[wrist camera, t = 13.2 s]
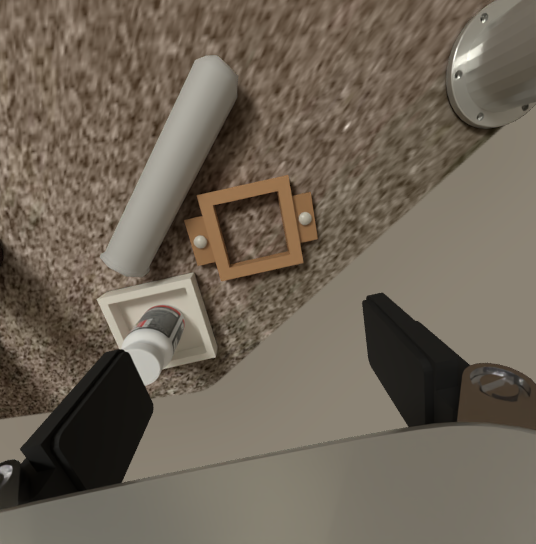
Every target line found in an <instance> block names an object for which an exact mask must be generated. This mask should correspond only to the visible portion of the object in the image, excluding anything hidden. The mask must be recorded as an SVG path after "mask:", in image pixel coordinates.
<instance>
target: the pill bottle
mask: <svg viewBox="0 0 536 544" xmlns="http://www.w3.org/2000/svg"><path fill="white" fill-rule="evenodd" d="M184 328H185V321H184V317H183V315H182V314H181V313H180V311H179V310H177V309H176V308H174V307H172V306H170V305H163V304H161V305H156V306H153V307H151V308H150V309H148V310H147V311H146V312H145V313H144V315H143V316H142V317H141V319H140V320H139V321H138V322H137V324H136V325H135V326H134V328H133V329H132V330H131V331H130V333H129V334H128V335H127V337H126V338H125V340H124V341H123V343H122V347H121V349H123V350H124V351H125V352H128V353H129V354H130V355H131V358H132V360H133V362H134V364H135V366H136V368H137V370H138V373H139V375H140V377H141V379H142V381H143V383H144V385H145V386H146V385H149V384H151V383H153V382H154V381H155V380H156V379H157V378H158V377H159V375H160V373H161V371H162V369H163V368H165V367H166V366H167V365H168V364H169V362H170V361H171V359H172V357H173V355H174V352H175V350H176V347H177V345H178V343H179V340H180V338H181V336H182V333H183V331H184Z"/></svg>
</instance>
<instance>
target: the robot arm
mask: <svg viewBox="0 0 536 544" xmlns="http://www.w3.org/2000/svg"><path fill="white" fill-rule="evenodd" d="M446 86H447V94H448V97H449V101H450V104H451V106H452V108H453V109H454V111H455V113H456V114H457V115H458V116H459V117H460V119H461V120H463V121H464V122H466V123H467V124H469V125H471V126H474V127H477V128H484V129H488V128H496V127H499V126H503V125H507V124H509V123H511V122H514V121H516V120H517V119H519V118H520V117H522V116H524V115H525V114H526V113H527V112H528V111H529V110H531V108H533V107H534V106H535V104H536V0H496V1H494V2H492V3H490V4H489V5H487V6H486V7H485V8H483V9H482V10H481V11H479V12H478V13H477V14H476V15H475V16H474V17H473V18H472V19H471V20H470V21H469V22H468V23H467V24H466V26H465V27H464V28H463V30H462V31H461V33H460V34H459V36H458V38H457V40H456V42H455V44H454V45H453V48H452V51H451V54H450V57H449V61H448V66H447V73H446ZM362 305H363V315H364V324H365V333H366V342H367V351H368V359H369V362H370V365H371V367H372V369H373V371H374V372H375V374H376V375H377V377H378V379H379V380H380V382H381V383H382V385H383V387H384V388H385V390H386V392H387V393H388V395H389V396H390V398H391V400H392V401H393V403H394V404H395V406H396V408H397V409H398V411H399V412H400V414H401V416H402V417H403V419H404V420H405V422H406V424H407V425H408V427H406V428H400V429H394V430H388V431H383V432H377V433H372V434H366V435H361V436H355V437H349V438H344V439H339V440H334V441H329V442H323V443H318V444H313V445H308V446H303V447H298V448H293V449H287V450H283V451H277V452H272V453H267V454H262V455H257V456H252V457H247V458H242V459H237V460H232V461H227V462H222V463H217V464H212V465H207V466H202V467H197V468H192V469H187V470H182V471H177V472H173V473H167V474H163V475H157V476H153V477H148V478H143V479H138V480H134V481H128V482H124V483H122V480H123V478H124V476H125V474H126V472H127V469H128V467H129V465H130V462H131V460H132V458H133V456H134V454H135V451H136V449H137V447H138V445H139V442H140V440H141V438H142V436H143V434H144V431H145V429H146V427H147V425H148V422H149V420H150V418H151V416H152V413H153V403H152V400H151V398H150V396H149V394H148V392H147V390H146V387H145V385H144V383H143V381H142V379H141V377H140V375H139V373H138V370H137V368H136V366H135V364H134V362H133V360H132V358H131V355H130V354H129V353H128V352H125V351H124V350H123V349H119V350H114V351H109V352H106V353H104V354H103V356H102V357H101V358H100V359H99V360H98V361H97V362H96V363H95V365H94V366H93V367H92V368H91V369H90V370H89V371H88V372H87V374H86V375H85V376H84V377H83V378H82V379H81V380H80V382H79V383H78V384H77V385H76V386H75V387H74V388H73V389H72V391H71V392H70V393H69V394H68V395H67V396H66V397H65V399H64V400H63V401H62V402H61V403H60V404H59V405H58V406H57V408H56V409H55V410H54V411H53V412H52V413H51V414H50V416H49V417H48V418H47V419H46V420H45V421H44V422H43V423H42V425H41V426H40V427H39V428H38V429H37V430H36V431H35V433H34V434H33V435H32V436H31V437H30V438H29V439H28V441H27V442H26V443H25V444H24V445H23V446H22V447H21V448H20V450H21V451H22V453H23V454H24V455H25V457H26V459H25V460H24V461H23V462H22V463H21V464H20V462H19V461H17V460H15V459H14V460H7V461H4V462H1V463H0V544H536V384H535V383H534V382H533V380H532V379H531V378H529V377H528V376H526V375H524V374H523V373H521V372H519V371H517V370H514V369H512V368H510V367H507V366H503V365H499V364H492V363H477V364H473V365H469V364H468V363H467V362H466V361H465V360H463V359H462V358H461V357H460V356H459V355H457V354H456V353H455V352H454V351H453V350H452V349H450V348H449V347H448V346H447V345H446V344H445V343H443V342H442V341H441V340H440V339H439V338H438V337H436V336H435V335H434V334H433V333H432V332H430V331H429V330H428V329H427V328H426V327H425V326H423V325H422V324H421V323H420V322H418V321H415V320H413V319H412V318H411V317H410V316H409V315H408V314H407V313H405V312H404V311H403V310H402V309H401V308H400V307H399V306H397V305H396V304H395V303H394V302H393V301H392V300H391V299H389V298H388V297H387V296H386V295H385V294H384V293H378V294H374V295H369V296H367V298H366V300H364V301H363V302H362Z"/></svg>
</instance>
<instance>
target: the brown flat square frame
mask: <svg viewBox="0 0 536 544" xmlns="http://www.w3.org/2000/svg"><path fill="white" fill-rule="evenodd" d="M275 191H277V196H278V201H279V206H280V211H281V217H282V222H283V227H284V232H285V238H286V243H287V248H288V251H287V252H283V253H278V254H274V255H269V256H265V257H260V258H256V259H251V260H247V261H243V262H238V263H234V264H230V261H229V257H228V253H227V250H226V246H225V242H224V239H223V235H222V231H221V227H220V224H219V220H218V216H217V212H216V209H215V205H217V204H221V203H226V202H230V201H235V200H239V199H244V198H248V197H253V196H257V195H262V194H266V193H271V192H275ZM197 198H198V202H199V205H200V209H201V212H202V216H198V217H194V218H189V219H185V220H184V222H185V226H186V229H187V232H188V235H189V238H190V242H191V245H192V248H193V251H194V255H195V258H196V261H197V264H198V266H200V265H204V264H208V263H213V262H216V265H217V268H218V272H219V275H220V279H221V281H225V280H229V279H234V278H238V277H243V276H247V275H252V274H256V273H260V272H265V271H269V270H274V269H278V268H283V267H287V266H292V265H296V264H301V263H303V257H302V252H301V246H300V243H302V242H307V241H311V240H316V239H318V238H317V231H316V224H315V218H314V211H313V205H312V198H311V192H307V193H302V194H298V195H293V196H292V194H291V189H290V183H289V177H288V175H286V176H282V177H277V178H273V179H268V180H264V181H259V182H255V183H250V184H246V185H241V186H237V187H232V188H227V189H223V190H218V191H214V192H209V193H205V194H200V195H197Z"/></svg>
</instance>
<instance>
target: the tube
mask: <svg viewBox="0 0 536 544" xmlns="http://www.w3.org/2000/svg"><path fill="white" fill-rule="evenodd" d="M237 84H238V75H237V74H236V73H235V72H234V71H233V70H232V69H231V68H230V67H229V66H228V65H227V64H226V63H225V62H224V61H223V60H222V59H221V58H219V57H218V56H204V57H202V58H199V59H197V60H195V62H194V64H193V66H192V69H191V71H190V73H189V75H188V77H187V79H186V81H185V83H184V86H183V88H182V90H181V92H180V94H179V96H178V98H177V100H176V103H175V105H174V107H173V109H172V111H171V113H170V115H169V117H168V120H167V122H166V124H165V126H164V128H163V130H162V132H161V134H160V136H159V139H158V141H157V143H156V145H155V147H154V149H153V151H152V153H151V156H150V158H149V160H148V162H147V164H146V166H145V168H144V170H143V173H142V175H141V177H140V179H139V181H138V183H137V185H136V187H135V190H134V192H133V194H132V196H131V198H130V200H129V202H128V204H127V206H126V209H125V211H124V213H123V215H122V217H121V219H120V221H119V223H118V226H117V228H116V230H115V232H114V234H113V236H112V238H111V240H110V243H109V245H108V247H107V249H106V251H105V252H104V253H102V254H101V256H100V258H101V259H102V260H103V262H104V263H105V264H106V265H107V266H108V267H109V268H111V269H113V270H115V271H117V272H119V273H121V274H123V275H125V276H127V277H143V276H145V275H146V274H147V273H148V272H149V271H150V268H149V267H150V264H151V262H152V261H153V259H154V257H155V255H156V253H157V251H158V249H159V247H160V245H161V243H162V241H163V239H164V237H165V236H166V234H167V232H168V230H169V228H170V226H171V224H172V222H173V220H174V218H175V216H176V214H177V212H178V211H179V209H180V207H181V205H182V203H183V201H184V199H185V197H186V195H187V193H188V191H189V189H190V188H191V186H192V184H193V182H194V180H195V178H196V176H197V174H198V172H199V170H200V168H201V166H202V164H203V163H204V161H205V159H206V157H207V155H208V153H209V151H210V149H211V147H212V145H213V143H214V141H215V139H216V138H217V136H218V134H219V132H220V130H221V128H222V126H223V124H224V122H225V120H226V118H227V116H228V115H229V113H230V111H231V109H232V107H233V105H234V103H235V101H236V99H237Z"/></svg>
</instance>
